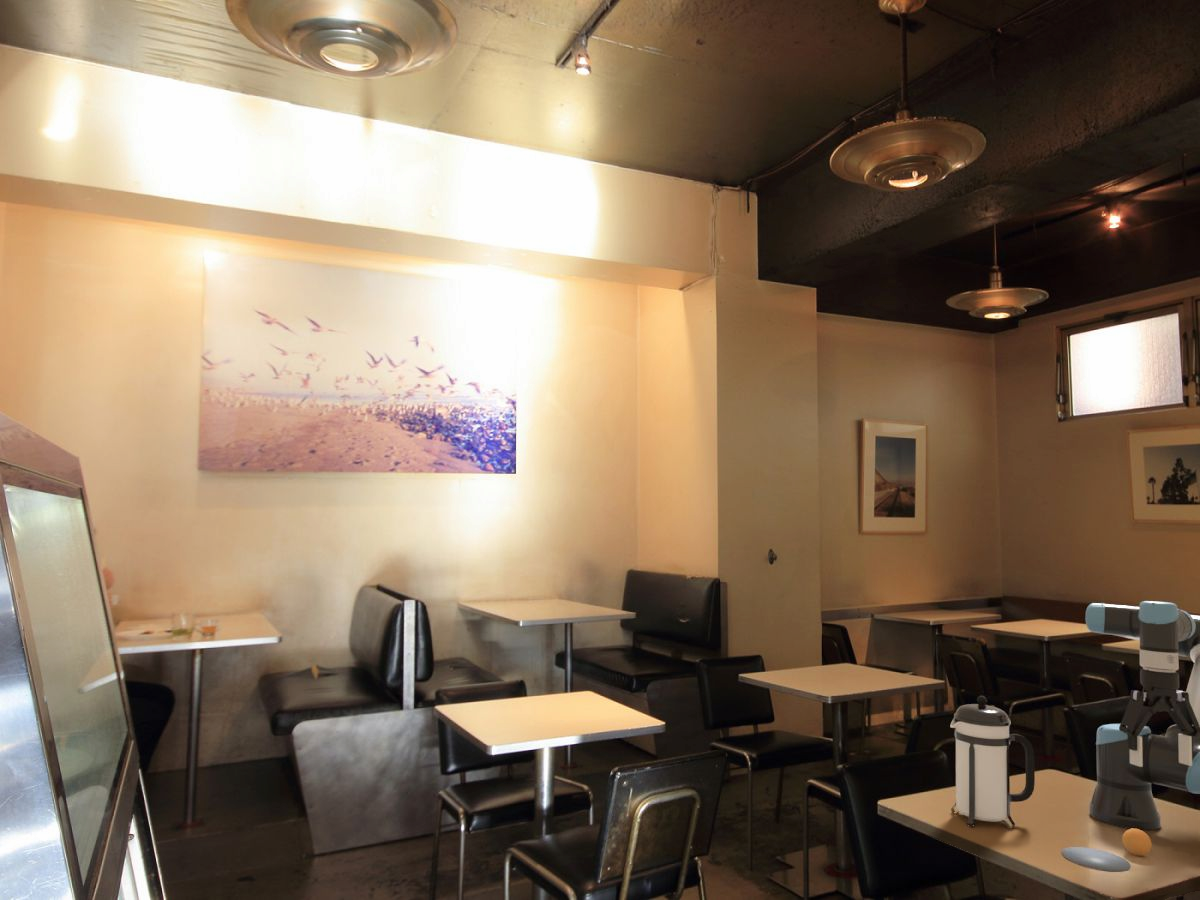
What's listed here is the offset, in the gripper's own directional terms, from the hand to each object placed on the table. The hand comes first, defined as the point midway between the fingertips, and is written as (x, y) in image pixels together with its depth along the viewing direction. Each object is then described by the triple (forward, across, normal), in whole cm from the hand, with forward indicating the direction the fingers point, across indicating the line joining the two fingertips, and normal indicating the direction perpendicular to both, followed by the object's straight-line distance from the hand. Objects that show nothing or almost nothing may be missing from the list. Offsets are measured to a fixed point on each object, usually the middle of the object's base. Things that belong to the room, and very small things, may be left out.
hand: (1161, 764), depth 192 cm
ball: (+16, -7, 0) cm, 18 cm away
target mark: (+19, -19, -2) cm, 27 cm away
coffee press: (+20, -27, +24) cm, 41 cm away
